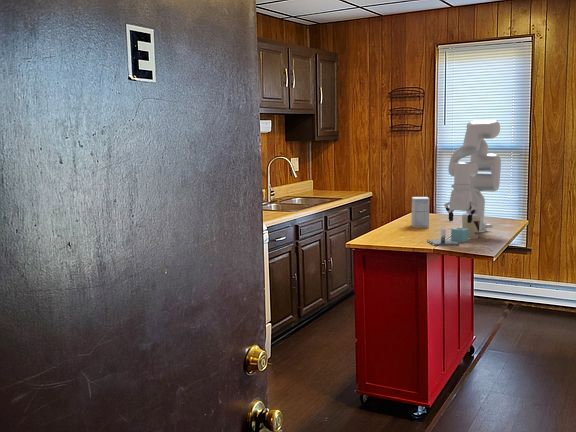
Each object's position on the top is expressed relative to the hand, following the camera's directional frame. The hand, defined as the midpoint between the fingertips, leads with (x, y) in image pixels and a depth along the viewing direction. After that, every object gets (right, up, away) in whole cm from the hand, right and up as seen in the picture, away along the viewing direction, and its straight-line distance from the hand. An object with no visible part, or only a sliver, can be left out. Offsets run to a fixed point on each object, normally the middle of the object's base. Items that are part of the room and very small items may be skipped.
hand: (460, 221), depth 301 cm
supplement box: (-9, -3, +49) cm, 50 cm away
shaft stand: (-10, -11, -6) cm, 16 cm away
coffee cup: (+9, -8, +12) cm, 17 cm away
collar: (0, -9, +2) cm, 10 cm away
